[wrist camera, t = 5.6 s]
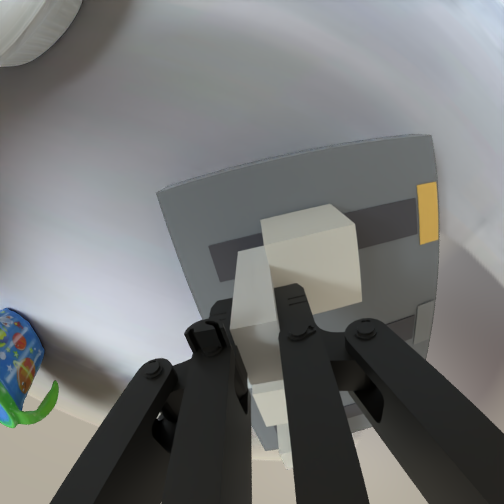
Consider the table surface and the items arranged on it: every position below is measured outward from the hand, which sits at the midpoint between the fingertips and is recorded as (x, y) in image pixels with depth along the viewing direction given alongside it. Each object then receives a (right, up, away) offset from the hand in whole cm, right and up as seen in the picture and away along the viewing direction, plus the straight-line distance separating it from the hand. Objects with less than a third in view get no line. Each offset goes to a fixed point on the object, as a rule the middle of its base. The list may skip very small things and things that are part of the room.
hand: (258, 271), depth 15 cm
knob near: (+3, +2, +1) cm, 3 cm away
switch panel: (+6, -5, +7) cm, 10 cm away
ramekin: (-18, +21, -4) cm, 27 cm away
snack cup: (-26, -8, +8) cm, 29 cm away
